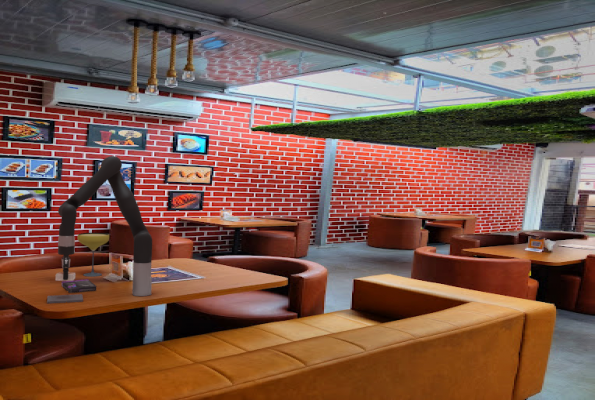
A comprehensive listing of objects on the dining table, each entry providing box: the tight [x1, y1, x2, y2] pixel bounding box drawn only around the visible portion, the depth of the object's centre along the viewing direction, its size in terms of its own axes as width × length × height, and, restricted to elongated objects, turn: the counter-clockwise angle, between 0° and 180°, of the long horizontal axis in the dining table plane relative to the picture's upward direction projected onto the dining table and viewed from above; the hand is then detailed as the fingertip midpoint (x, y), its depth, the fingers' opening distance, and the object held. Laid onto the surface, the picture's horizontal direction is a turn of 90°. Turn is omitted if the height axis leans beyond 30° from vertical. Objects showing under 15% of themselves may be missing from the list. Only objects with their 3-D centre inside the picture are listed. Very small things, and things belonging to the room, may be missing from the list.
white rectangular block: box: [55, 272, 76, 282], centre depth 263 cm, size 8×5×3 cm, turn 101°
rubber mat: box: [46, 293, 84, 304], centre depth 264 cm, size 16×12×1 cm
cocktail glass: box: [77, 232, 110, 278], centre depth 326 cm, size 18×18×25 cm
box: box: [61, 278, 97, 294], centre depth 289 cm, size 14×4×20 cm
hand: (65, 278), depth 263 cm, fingers closed on white rectangular block, 5 cm apart
